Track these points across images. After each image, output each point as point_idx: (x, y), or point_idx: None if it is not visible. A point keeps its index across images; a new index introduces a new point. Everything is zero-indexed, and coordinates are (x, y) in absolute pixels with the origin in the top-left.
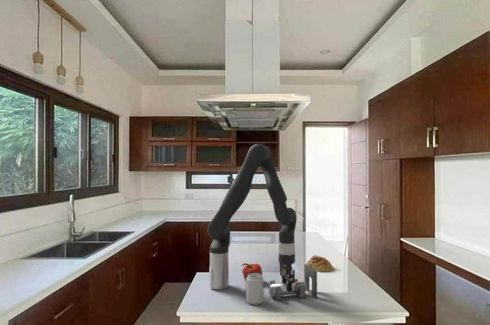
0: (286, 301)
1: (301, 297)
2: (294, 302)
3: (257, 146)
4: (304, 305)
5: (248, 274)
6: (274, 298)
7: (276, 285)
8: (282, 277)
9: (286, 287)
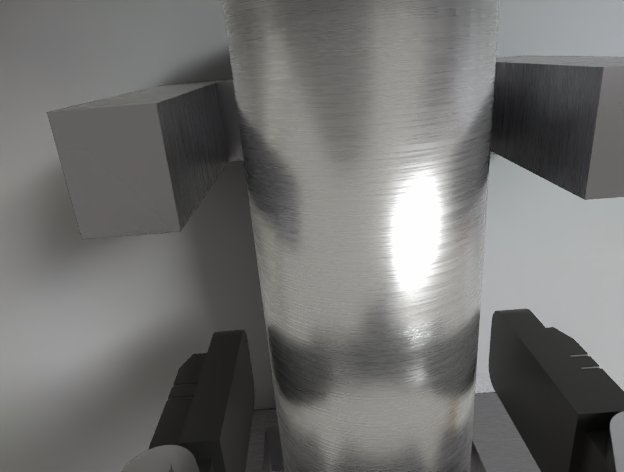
0: None
1: None
2: (121, 323)
3: None
4: (23, 406)
5: None
6: None
7: (321, 163)
8: (610, 442)
9: (281, 358)
